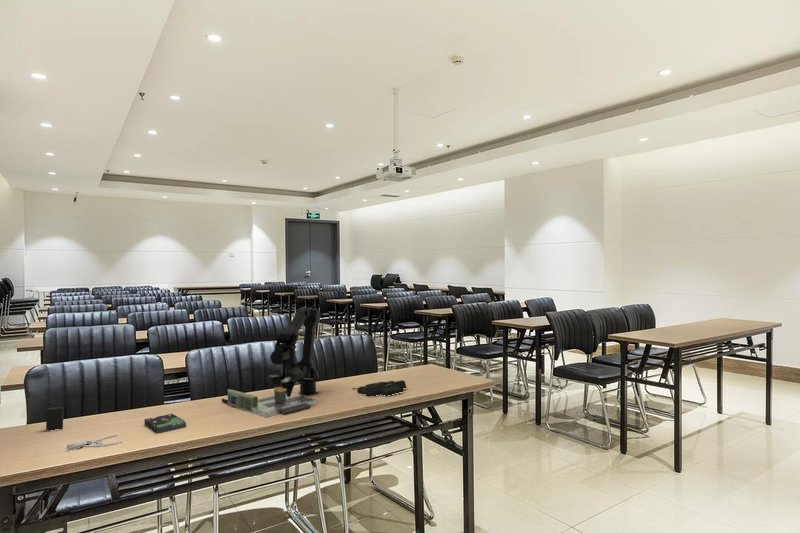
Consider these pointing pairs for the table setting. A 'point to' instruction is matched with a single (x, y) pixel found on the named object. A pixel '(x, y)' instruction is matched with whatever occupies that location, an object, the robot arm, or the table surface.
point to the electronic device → (382, 388)
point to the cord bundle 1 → (294, 407)
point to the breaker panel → (279, 405)
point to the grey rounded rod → (266, 398)
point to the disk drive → (165, 423)
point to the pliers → (83, 444)
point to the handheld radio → (241, 400)
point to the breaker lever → (280, 394)
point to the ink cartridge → (54, 418)
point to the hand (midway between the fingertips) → (288, 396)
